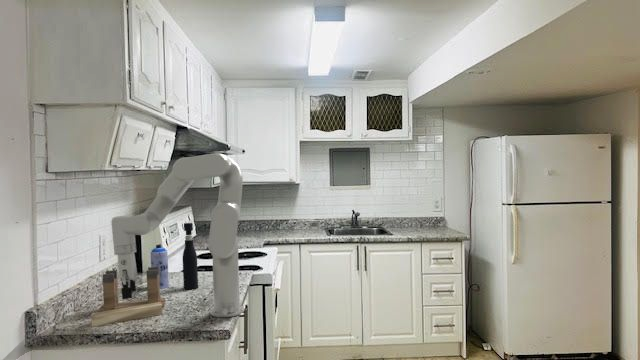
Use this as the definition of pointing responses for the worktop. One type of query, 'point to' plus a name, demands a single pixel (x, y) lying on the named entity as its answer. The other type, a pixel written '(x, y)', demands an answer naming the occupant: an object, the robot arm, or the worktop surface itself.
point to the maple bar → (126, 314)
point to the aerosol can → (160, 264)
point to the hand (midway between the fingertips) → (129, 294)
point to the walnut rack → (112, 301)
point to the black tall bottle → (189, 260)
